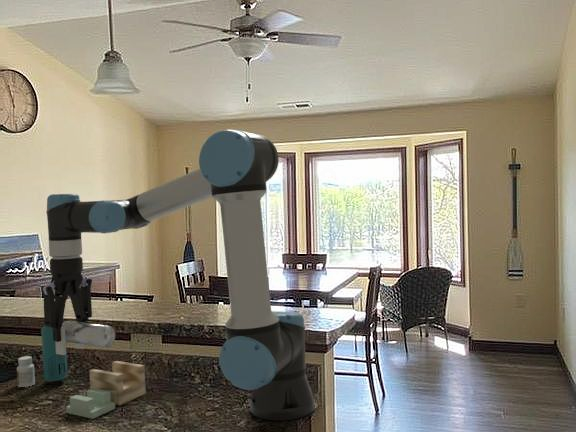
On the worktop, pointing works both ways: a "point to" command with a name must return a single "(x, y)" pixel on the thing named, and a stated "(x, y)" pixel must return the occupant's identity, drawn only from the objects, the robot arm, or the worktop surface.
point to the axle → (89, 334)
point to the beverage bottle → (52, 357)
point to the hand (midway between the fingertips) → (70, 350)
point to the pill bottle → (25, 372)
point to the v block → (91, 404)
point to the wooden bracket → (120, 381)
